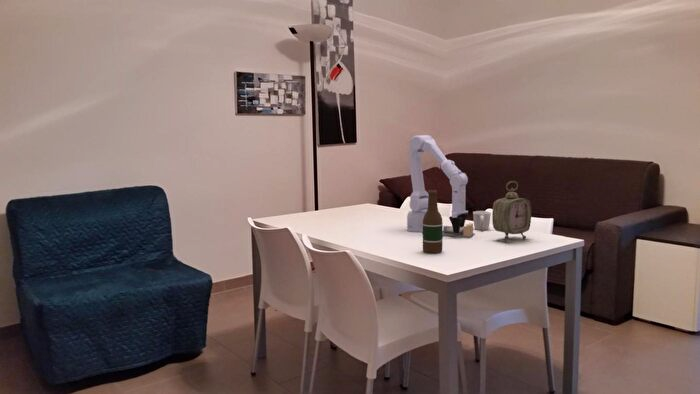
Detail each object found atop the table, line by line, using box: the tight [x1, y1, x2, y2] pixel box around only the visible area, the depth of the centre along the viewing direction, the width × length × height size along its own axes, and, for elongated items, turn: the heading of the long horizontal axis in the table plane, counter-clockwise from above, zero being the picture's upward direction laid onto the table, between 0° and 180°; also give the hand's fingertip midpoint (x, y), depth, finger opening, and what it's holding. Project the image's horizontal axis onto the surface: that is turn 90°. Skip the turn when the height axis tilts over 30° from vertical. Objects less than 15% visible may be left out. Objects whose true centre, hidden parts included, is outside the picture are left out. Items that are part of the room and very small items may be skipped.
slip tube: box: [442, 225, 464, 234], centre depth 242 cm, size 11×3×3 cm, turn 64°
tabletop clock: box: [491, 180, 532, 243], centre depth 229 cm, size 14×9×25 cm, turn 122°
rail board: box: [442, 222, 476, 239], centre depth 243 cm, size 19×8×5 cm, turn 64°
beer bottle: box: [422, 189, 444, 255], centre depth 211 cm, size 8×8×24 cm
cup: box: [472, 210, 492, 231], centre depth 253 cm, size 11×8×8 cm
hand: (458, 231), depth 242 cm, fingers open, 7 cm apart
